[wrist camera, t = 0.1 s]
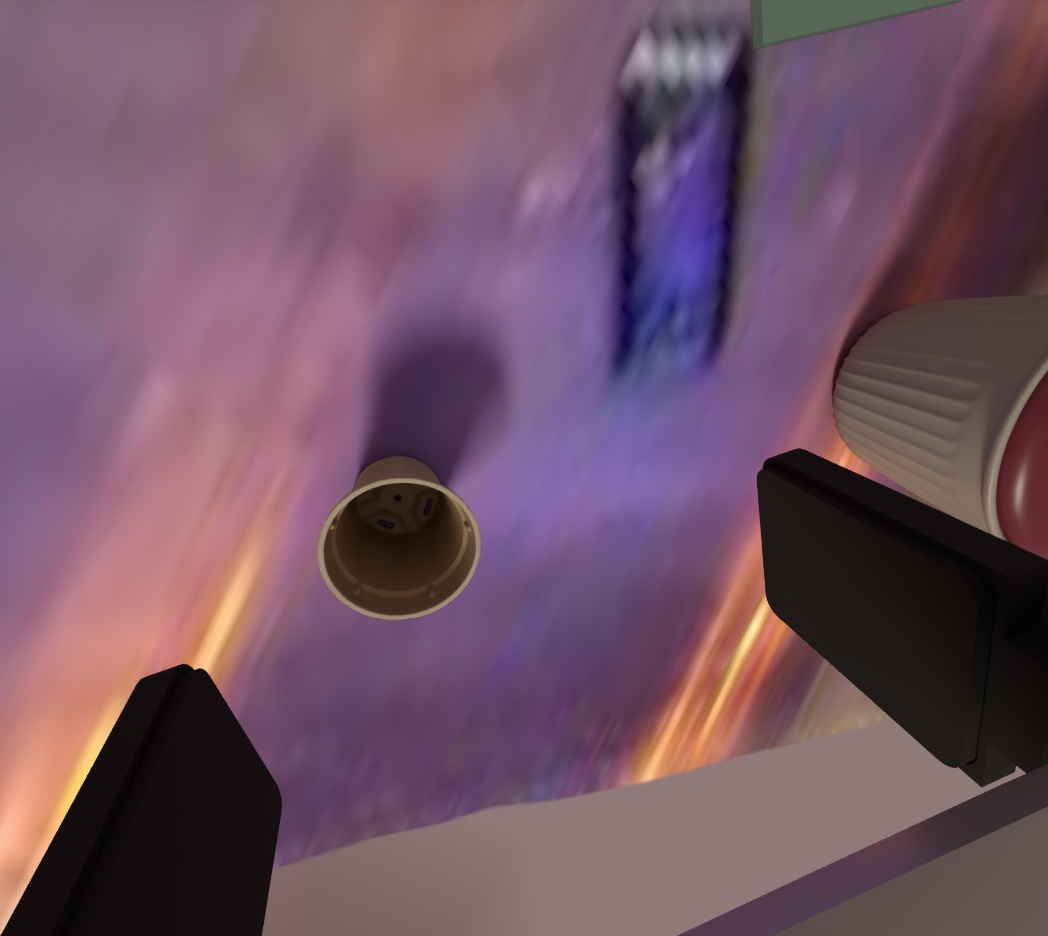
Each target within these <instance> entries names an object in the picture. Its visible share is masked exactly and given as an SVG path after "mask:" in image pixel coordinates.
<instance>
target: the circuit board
mask: <svg viewBox="0 0 1048 936" xmlns="http://www.w3.org/2000/svg"><path fill="white" fill-rule="evenodd" d="M961 1H963V0H751V11H752V29H753V47H754V49H757V48H762V47H766V46H770V45H775V44H779V43H783V42H788V41H792V40H796V39H801V38H805V37H809V36H814V35H818V34H822V33H827V32H831V31H835V30H840V29H844V28H848V27H853V26H857V25H861V24H866V23H870V22H874V21H879V20H883V19H887V18H892V17H896V16H900V15H905V14H909V13H913V12H918V11H922V10H926V9H931V8H935V7H939V6H944V5H948V4H952V3H957V2H961Z"/></svg>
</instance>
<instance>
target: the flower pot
mask: <svg viewBox="0 0 1048 936" xmlns="http://www.w3.org/2000/svg"><path fill="white" fill-rule="evenodd" d="M365 491H366V492H365ZM397 495H399V496H400V497H401V499H400V500H399V501H396V500H395V497H396V496H397ZM429 499H432V505H431V508H430V511H429V512H428V513H427V514H424V512H423V510H424V508H425V507H426V505H427V502H428V500H429ZM379 520H384V521H387V522H391V523H394V527H393V528H386V527H384V526H383V525H379V524H378V523H377V522H378V521H379ZM480 552H481V537H480V530H479V527H478V523H477V521H476V519H475V517H474V515H473V513H472V511H471V510H470V508H469V507H468V505H467V504H466V503H465V502H464V501H463V500H462V499H461V498H460V497H459V496H458V495H457V494H456V493H454V492H453V491H451V490H450V489H449V488H447V487H445V486H443V485H441V483H440V482H439V480H438V478H437V477H436V475H435V474H434V473H433V471H432V470H431V469H430V468H429V467H428V466H426V465H425V464H423V463H422V462H420V461H418V460H416V459H413V458H410V457H405V456H391V457H387V458H384V459H381V460H379V461H376V462H374V463H372V464H371V465H369V466H368V467H366V468H365V469H364V470H363V472H362V473H361V474H360V475H359V477H358V479H357V480H356V482H355V485H354V487H353V489H352V491H351V492H350V493H349V494H348V495H346V496H345V497H344V498H343V499H342V500H341V501H340V502H339V503H338V504H337V505H336V506H335V507H334V508H333V510H332V511H331V512H330V514H329V515H328V517H327V519H326V521H325V523H324V525H323V527H322V530H321V533H320V537H319V542H318V552H317V555H318V563H319V567H320V571H321V574H322V576H323V578H324V580H325V582H326V584H327V586H328V587H329V589H330V590H331V591H332V592H333V593H334V595H335V596H336V597H337V598H338V599H340V600H341V601H342V602H343V603H344V604H345V605H347V606H348V607H350V608H352V609H353V610H356V611H357V612H360V613H362V614H365V615H368V616H371V617H375V618H382V619H393V620H400V619H407V618H415V617H419V616H422V615H426V614H429V613H431V612H433V611H436V610H438V609H440V608H441V607H443V606H445V605H446V604H448V603H449V602H450V601H452V600H453V599H454V598H456V597H457V596H458V595H459V594H460V593H461V592H462V590H463V589H464V588H465V586H466V585H467V584H468V583H469V581H470V579H471V578H472V576H473V574H474V572H475V570H476V567H477V565H478V562H479V558H480Z"/></svg>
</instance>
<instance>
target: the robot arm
mask: <svg viewBox="0 0 1048 936" xmlns="http://www.w3.org/2000/svg"><path fill="white" fill-rule="evenodd" d="M757 489H758V502H759V515H760V528H761V540H762V553H763V566H764V578H765V591H766V598H767V601H768V604H769V605H770V607H771V609H772V610H773V612H774V613H775V614H776V615H777V616H778V617H779V618H780V619H781V620H782V621H783V622H784V623H785V624H787V625H788V626H789V627H790V628H791V629H792V630H793V631H794V632H796V633H797V634H798V635H799V636H800V637H801V638H802V639H803V640H805V641H806V642H807V643H808V644H809V645H810V646H811V647H812V648H814V649H815V650H816V651H817V652H818V653H819V654H820V655H821V656H822V657H824V658H825V659H826V660H827V661H828V662H829V663H830V664H831V665H833V666H834V667H835V668H836V669H837V670H838V671H839V672H840V673H842V674H843V675H844V676H845V677H846V678H847V679H848V680H849V681H851V682H852V683H853V684H854V685H855V686H856V687H857V688H858V689H859V690H861V691H862V692H863V693H864V694H865V695H866V696H867V697H868V698H870V699H871V700H872V701H873V702H874V703H875V704H876V705H877V706H879V707H880V708H881V709H882V710H883V711H884V712H885V713H886V714H888V715H889V716H890V717H891V718H892V719H893V720H894V721H895V722H896V723H898V724H899V725H900V726H901V727H902V728H903V729H904V730H905V731H907V732H908V733H909V734H910V735H911V736H912V737H913V738H914V739H916V740H917V741H918V742H919V743H920V744H921V745H922V746H923V747H925V748H926V749H927V750H928V751H929V752H930V753H931V754H932V755H934V756H935V757H936V758H937V759H938V760H939V761H941V762H942V763H943V764H945V765H947V766H949V767H952V768H957V767H959V768H960V769H961V770H962V771H963V772H964V773H966V774H967V775H968V776H969V777H970V778H971V779H972V780H974V781H975V782H976V783H977V784H978V785H979V786H981V787H984V786H986V785H988V784H990V783H992V782H994V781H997V780H999V779H1001V778H1003V777H1005V776H1007V775H1009V774H1011V773H1014V772H1015V769H1016V765H1017V766H1018V767H1019V768H1020V769H1022V770H1023V771H1024V772H1025V773H1027V774H1025V775H1023V776H1020V777H1018V778H1016V779H1013V780H1011V781H1009V782H1006V783H1004V784H1002V785H1000V786H998V787H995V788H993V789H991V790H989V791H987V792H985V793H983V794H980V795H978V796H976V797H974V798H972V799H970V800H967V801H965V802H963V803H961V804H959V805H957V806H955V807H952V808H950V809H948V810H946V811H944V812H941V813H939V814H937V815H935V816H933V817H931V818H929V819H927V820H924V821H922V822H920V823H918V824H916V825H913V826H911V827H909V828H907V829H905V830H903V831H900V832H898V833H896V834H894V835H892V836H890V837H888V838H886V839H883V840H881V841H879V842H877V843H875V844H872V845H870V846H868V847H866V848H864V849H862V850H859V851H858V852H855V853H853V854H851V855H849V856H847V857H844V858H842V859H840V860H838V861H836V862H834V863H831V864H829V865H827V866H825V867H823V868H821V869H818V870H816V871H814V872H812V873H810V874H808V875H806V876H803V877H801V878H799V879H797V880H795V881H793V882H791V883H788V884H786V885H784V886H782V887H780V888H778V889H776V890H774V891H771V892H769V893H767V894H765V895H763V896H761V897H759V898H757V899H754V900H752V901H750V902H748V903H746V904H744V905H742V906H740V907H737V908H736V909H733V910H731V911H729V912H727V913H725V914H723V915H720V916H718V917H716V918H714V919H712V920H710V921H708V922H705V923H703V924H701V925H699V926H697V927H695V928H693V929H691V930H688V931H687V932H684V933H682V934H680V935H678V936H1048V560H1047V559H1045V558H1043V557H1040V556H1038V555H1036V554H1034V553H1032V552H1029V551H1027V550H1025V549H1023V548H1021V547H1018V546H1016V545H1014V544H1012V543H1010V542H1007V541H1005V540H1003V539H1001V538H998V537H996V536H994V535H992V534H990V533H987V532H985V531H983V530H981V529H979V528H976V527H974V526H972V525H970V524H968V523H965V522H963V521H961V520H959V519H957V518H954V517H952V516H950V515H948V514H945V513H943V512H941V511H939V510H937V509H934V508H932V507H930V506H928V505H926V504H923V503H921V502H919V501H917V500H915V499H912V498H910V497H908V496H906V495H904V494H901V493H899V492H897V491H895V490H892V489H890V488H888V487H886V486H884V485H881V484H879V483H877V482H875V481H873V480H870V479H868V478H866V477H864V476H862V475H859V474H857V473H855V472H853V471H851V470H848V469H846V468H844V467H842V466H839V465H837V464H835V463H833V462H831V461H828V460H826V459H824V458H822V457H820V456H817V455H815V454H813V453H811V452H809V451H806V450H804V449H800V448H798V449H794V450H791V451H788V452H785V453H783V454H780V455H777V456H774V457H771V458H768V459H767V460H766V461H765V462H764V465H763V469H762V470H760V471H759V472H758V474H757ZM281 811H282V800H281V794H280V791H279V788H278V786H277V784H276V782H275V780H274V779H273V777H272V776H271V774H270V772H269V771H268V769H267V768H266V766H265V764H264V763H263V761H262V759H261V758H260V756H259V755H258V753H257V751H256V750H255V748H254V747H253V745H252V743H251V742H250V740H249V738H248V737H247V735H246V734H245V732H244V730H243V729H242V727H241V726H240V724H239V722H238V721H237V719H236V718H235V716H234V714H233V713H232V711H231V709H230V708H229V706H228V705H227V703H226V701H225V700H224V698H223V697H222V695H221V693H220V692H219V690H218V688H217V687H216V685H215V684H214V682H213V680H212V679H211V677H210V676H209V674H208V673H207V672H206V671H205V670H204V669H200V668H199V669H196V670H194V669H193V668H192V667H191V666H189V665H188V664H181V665H178V666H175V667H172V668H169V669H167V670H164V671H161V672H158V673H155V674H152V675H149V676H147V677H144V678H142V679H140V681H139V682H138V683H137V685H136V686H135V688H134V690H133V692H132V694H131V696H130V698H129V699H128V701H127V703H126V705H125V707H124V709H123V710H122V712H121V714H120V716H119V718H118V720H117V722H116V723H115V725H114V727H113V729H112V731H111V733H110V734H109V736H108V738H107V740H106V742H105V744H104V746H103V747H102V749H101V751H100V753H99V755H98V757H97V758H96V760H95V762H94V764H93V766H92V768H91V770H90V771H89V773H88V775H87V777H86V779H85V781H84V782H83V784H82V786H81V788H80V790H79V792H78V794H77V795H76V797H75V799H74V801H73V803H72V805H71V806H70V808H69V810H68V812H67V814H66V816H65V818H64V819H63V821H62V823H61V825H60V827H59V829H58V831H57V832H56V834H55V836H54V838H53V840H52V842H51V843H50V845H49V847H48V849H47V851H46V853H45V855H44V856H43V858H42V860H41V862H40V864H39V866H38V867H37V869H36V871H35V873H34V875H33V877H32V879H31V880H30V882H29V884H28V886H27V888H26V890H25V891H24V893H23V895H22V897H21V899H20V901H19V903H18V904H17V906H16V908H15V910H14V912H13V914H12V915H11V917H10V919H9V921H8V923H7V925H6V927H5V928H4V930H3V932H2V934H1V936H262V931H263V925H264V918H265V912H266V906H267V900H268V892H269V887H270V881H271V874H272V868H273V862H274V856H275V849H276V843H277V837H278V830H279V824H280V818H281Z"/></svg>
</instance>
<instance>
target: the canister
mask: <svg viewBox="0 0 1048 936" xmlns="http://www.w3.org/2000/svg"><path fill="white" fill-rule="evenodd" d="M835 383H836V386H835V390H834V392H833V395H834V401H833V403H832V406H833V408H834V413H833V416H834V419H835V420H836V428H837V429H838V431H839V434H840V437H841V438H842V440H843V441H844V442H845V443H846V445H847V447H848V448H849V449H850V450H851V451H852V452H853V453H854V454H855V455H857V456H858V457H859V458H860V459H861V460H862V461H864V462H865V463H866V464H868V465H869V466H871V467H873V468H874V469H876V470H877V471H879V472H880V473H882V474H884V475H885V476H887V477H888V478H890V479H891V480H893V481H895V482H896V483H898V484H899V485H901V486H903V487H904V488H906V489H908V490H909V491H911V492H913V493H914V494H916V495H918V496H919V497H921V498H923V499H925V500H926V501H928V502H930V503H931V504H933V505H935V506H937V507H938V508H940V509H942V510H943V511H945V512H947V513H948V514H950V515H952V516H953V517H955V518H957V519H959V520H961V521H963V522H965V523H968V524H970V525H972V526H974V527H976V528H979V529H981V530H983V531H985V532H987V533H990V534H992V535H994V536H996V537H998V538H1001V539H1003V540H1005V541H1007V542H1010V543H1012V544H1014V545H1016V546H1018V547H1021V548H1023V549H1025V550H1027V551H1029V552H1032V553H1034V554H1036V555H1038V556H1040V557H1043V558H1045V559H1047V560H1048V295H1022V296H998V297H979V298H963V299H948V300H936V301H928V302H923V303H920V304H914V305H910V306H907V307H905V308H903V309H901V310H897V311H895V312H892V313H891V314H889V315H888V316H887V317H885V318H882V319H881V320H879V321H878V322H877V323H876V324H875V325H874V326H872V327H870V328H869V329H868V330H867V331H866V333H865V334H864V335H863V336H861V337H860V338H859V339H858V341H857V343H856V344H855V346H854V347H852V348H851V350H850V353H849V355H848V356H847V357H846V358H845V359H844V363H843V366H842V367H841V369H840V370H839V376H838V378H837V380H836V381H835Z"/></svg>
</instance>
